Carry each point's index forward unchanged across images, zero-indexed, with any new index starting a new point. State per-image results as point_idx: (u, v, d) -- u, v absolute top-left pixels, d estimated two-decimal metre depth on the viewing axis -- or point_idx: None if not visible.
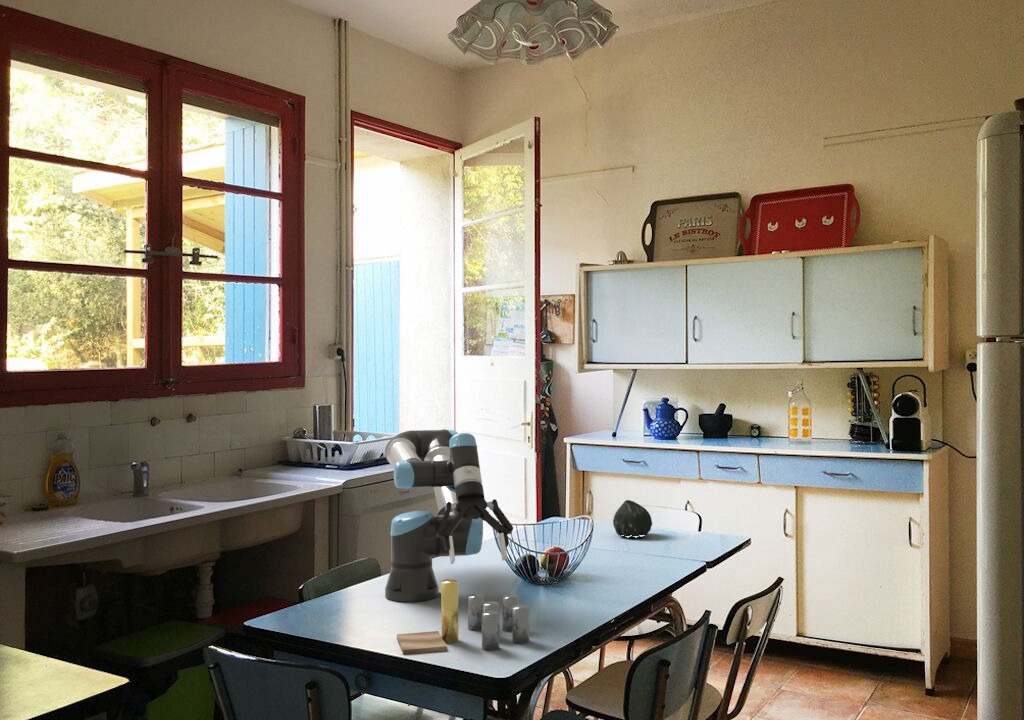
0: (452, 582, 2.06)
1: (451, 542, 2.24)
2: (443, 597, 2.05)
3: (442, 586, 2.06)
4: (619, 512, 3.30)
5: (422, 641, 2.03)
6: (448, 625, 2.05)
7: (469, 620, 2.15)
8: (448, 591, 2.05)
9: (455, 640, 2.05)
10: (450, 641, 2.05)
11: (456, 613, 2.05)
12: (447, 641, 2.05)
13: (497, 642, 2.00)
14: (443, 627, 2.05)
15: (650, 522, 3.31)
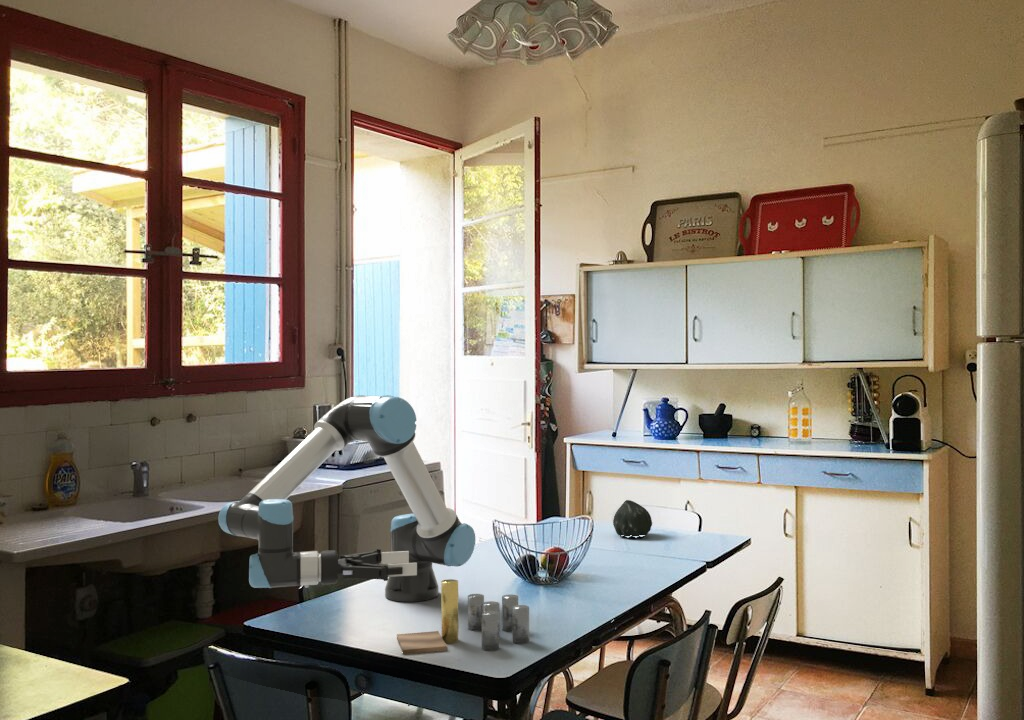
0: (452, 582, 2.06)
1: None
2: (443, 597, 2.05)
3: (442, 586, 2.06)
4: (619, 512, 3.30)
5: (422, 641, 2.03)
6: (448, 625, 2.05)
7: (469, 620, 2.15)
8: (448, 591, 2.05)
9: (455, 640, 2.05)
10: (450, 641, 2.05)
11: (456, 613, 2.05)
12: (447, 641, 2.05)
13: (497, 642, 2.00)
14: (443, 627, 2.05)
15: (650, 522, 3.31)
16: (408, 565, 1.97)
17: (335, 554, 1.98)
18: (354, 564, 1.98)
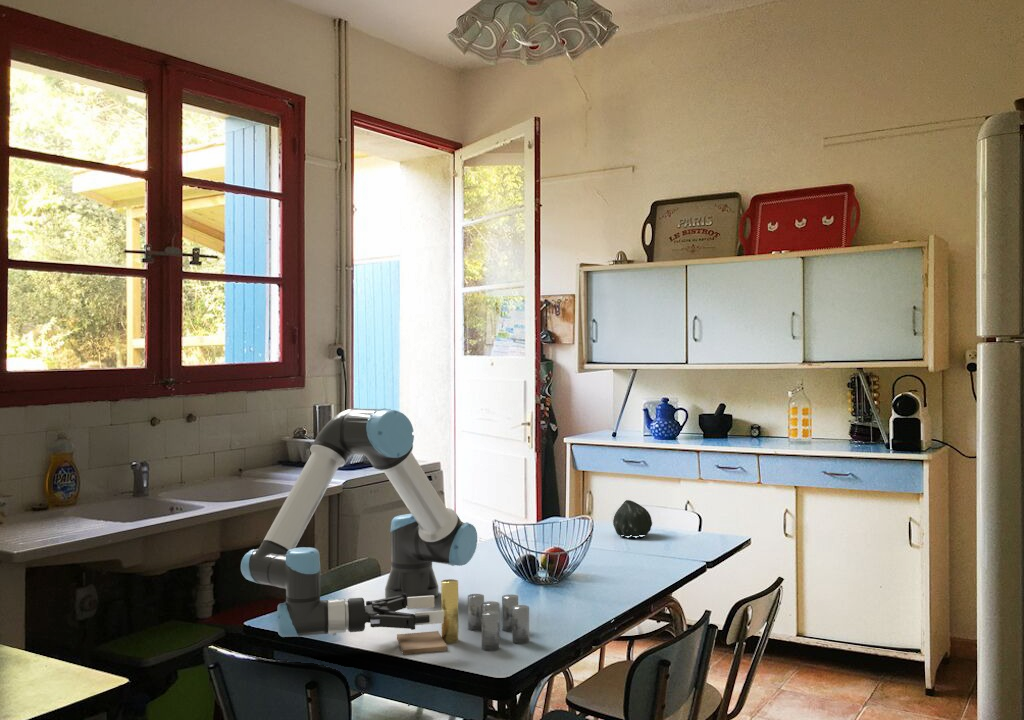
0: (452, 582, 2.06)
1: None
2: (443, 597, 2.05)
3: (442, 586, 2.06)
4: (619, 512, 3.30)
5: (422, 641, 2.03)
6: (448, 625, 2.05)
7: (469, 620, 2.15)
8: (448, 591, 2.05)
9: (455, 640, 2.05)
10: (450, 641, 2.05)
11: (456, 613, 2.05)
12: (447, 641, 2.05)
13: (497, 642, 2.00)
14: (443, 627, 2.05)
15: (650, 522, 3.31)
16: (435, 613, 1.98)
17: (362, 602, 1.99)
18: (381, 612, 1.99)
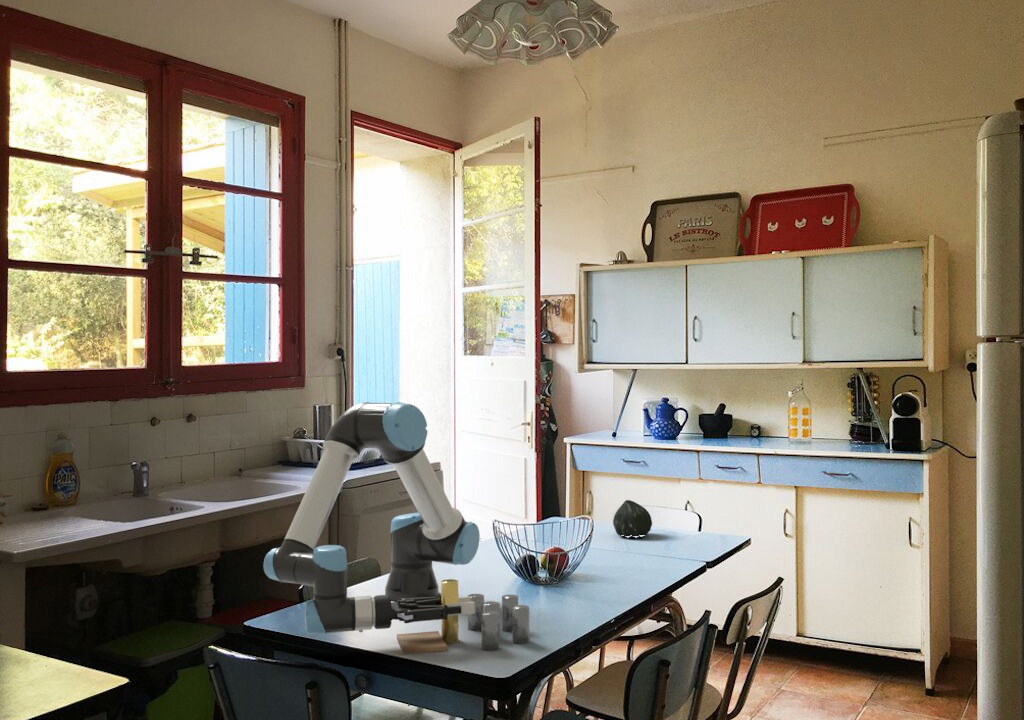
0: (452, 582, 2.06)
1: None
2: (443, 597, 2.05)
3: (442, 586, 2.06)
4: (619, 512, 3.30)
5: (422, 641, 2.03)
6: (448, 625, 2.05)
7: (469, 620, 2.15)
8: (448, 591, 2.05)
9: (455, 640, 2.05)
10: (450, 641, 2.05)
11: None
12: (447, 641, 2.05)
13: (497, 642, 2.00)
14: (443, 627, 2.05)
15: (650, 522, 3.31)
16: (466, 604, 2.05)
17: (388, 599, 2.01)
18: (407, 609, 2.01)
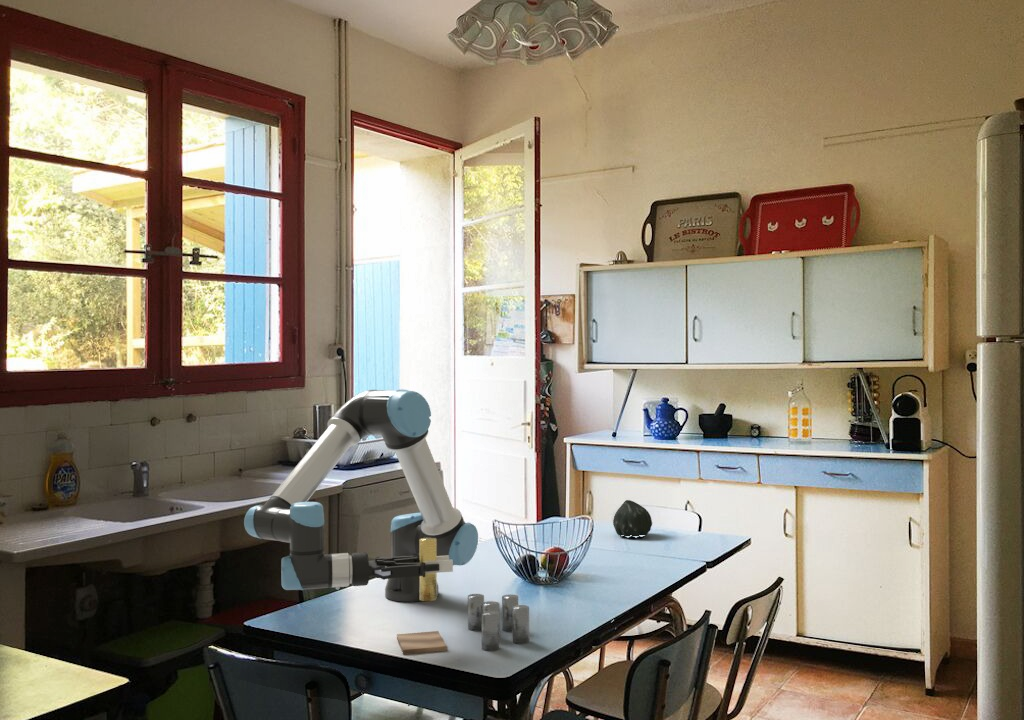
0: (430, 540, 2.05)
1: None
2: (421, 555, 2.04)
3: (420, 544, 2.04)
4: (619, 512, 3.30)
5: (422, 641, 2.03)
6: (426, 582, 2.03)
7: (469, 620, 2.15)
8: (426, 549, 2.04)
9: (433, 598, 2.04)
10: (428, 599, 2.03)
11: None
12: (425, 599, 2.03)
13: (497, 642, 2.00)
14: (421, 585, 2.04)
15: (650, 522, 3.31)
16: (444, 561, 2.04)
17: (366, 556, 2.00)
18: (385, 566, 2.00)
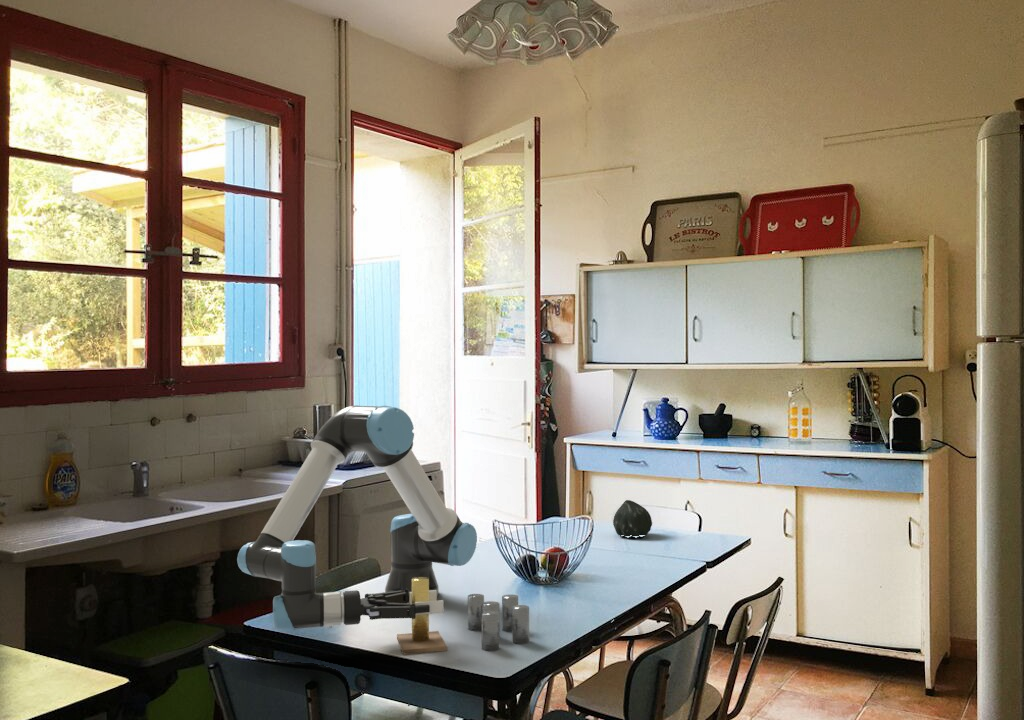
0: (422, 580, 2.04)
1: None
2: (413, 595, 2.04)
3: (412, 584, 2.04)
4: (619, 512, 3.30)
5: (422, 641, 2.03)
6: (418, 622, 2.03)
7: (469, 620, 2.15)
8: (418, 589, 2.03)
9: (425, 638, 2.03)
10: (420, 639, 2.03)
11: None
12: (417, 639, 2.03)
13: (497, 642, 2.00)
14: (413, 625, 2.03)
15: (650, 522, 3.31)
16: (435, 602, 2.01)
17: (358, 595, 1.99)
18: (377, 605, 2.00)
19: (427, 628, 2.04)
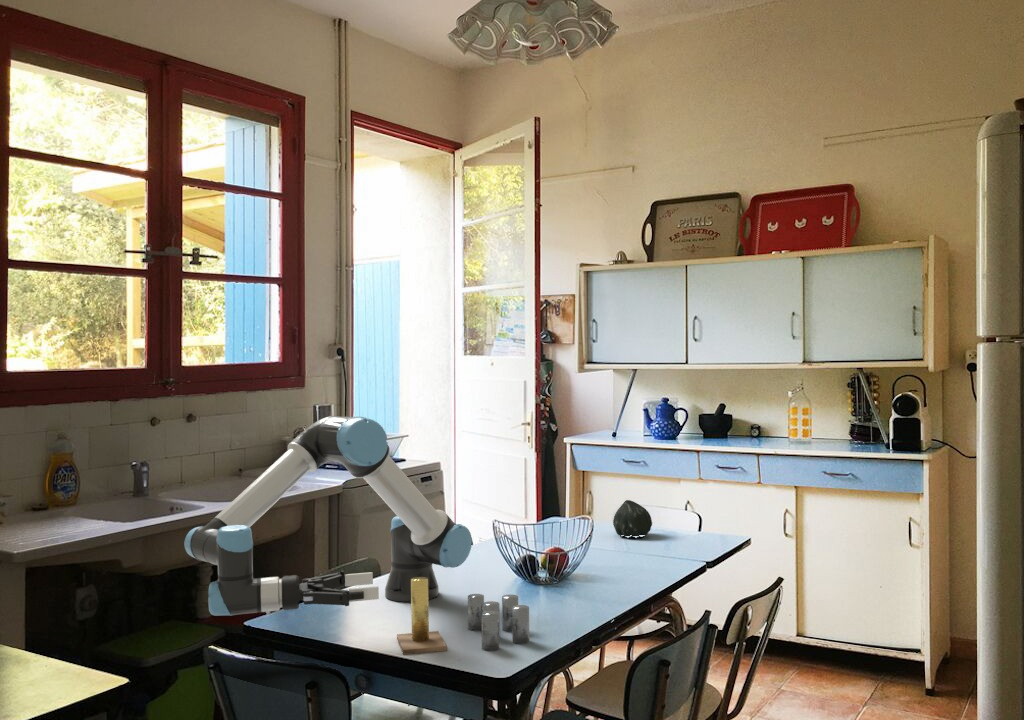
0: (422, 580, 2.04)
1: None
2: (413, 595, 2.03)
3: (412, 584, 2.04)
4: (619, 512, 3.30)
5: (422, 641, 2.03)
6: (418, 623, 2.03)
7: (469, 620, 2.15)
8: (418, 589, 2.03)
9: (425, 638, 2.03)
10: (420, 639, 2.03)
11: (426, 611, 2.04)
12: (417, 639, 2.03)
13: (497, 642, 2.00)
14: (413, 625, 2.03)
15: (650, 522, 3.31)
16: (370, 589, 1.95)
17: (296, 579, 1.97)
18: (315, 589, 1.97)
19: (427, 628, 2.04)
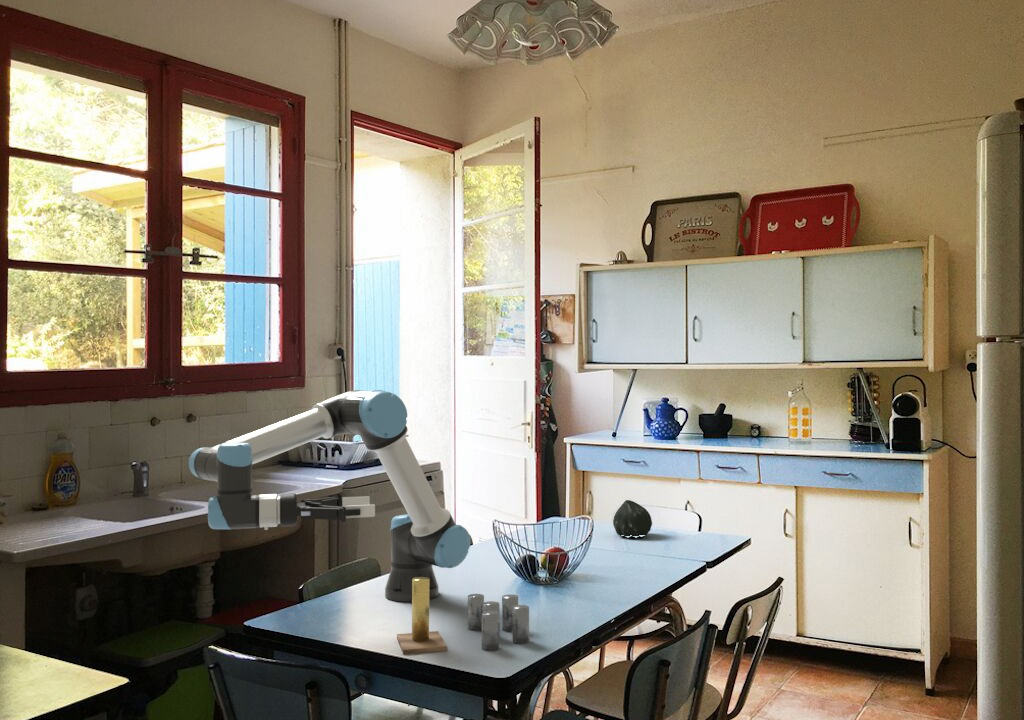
0: (423, 580, 2.04)
1: None
2: (414, 595, 2.03)
3: (413, 584, 2.04)
4: (619, 512, 3.30)
5: (422, 641, 2.03)
6: (418, 623, 2.03)
7: (469, 620, 2.15)
8: (419, 589, 2.03)
9: (425, 638, 2.03)
10: (420, 639, 2.03)
11: (426, 611, 2.04)
12: (417, 639, 2.03)
13: (497, 642, 2.00)
14: (413, 625, 2.03)
15: (650, 522, 3.31)
16: (366, 506, 1.99)
17: (294, 496, 2.00)
18: (313, 506, 2.00)
19: (427, 628, 2.04)
